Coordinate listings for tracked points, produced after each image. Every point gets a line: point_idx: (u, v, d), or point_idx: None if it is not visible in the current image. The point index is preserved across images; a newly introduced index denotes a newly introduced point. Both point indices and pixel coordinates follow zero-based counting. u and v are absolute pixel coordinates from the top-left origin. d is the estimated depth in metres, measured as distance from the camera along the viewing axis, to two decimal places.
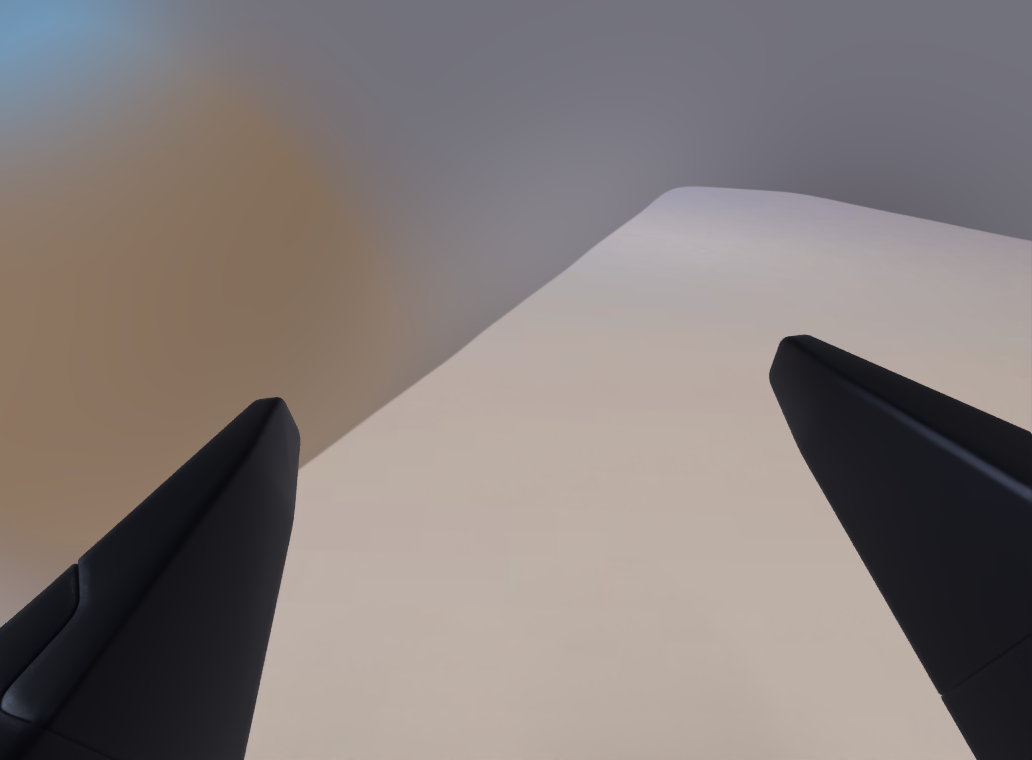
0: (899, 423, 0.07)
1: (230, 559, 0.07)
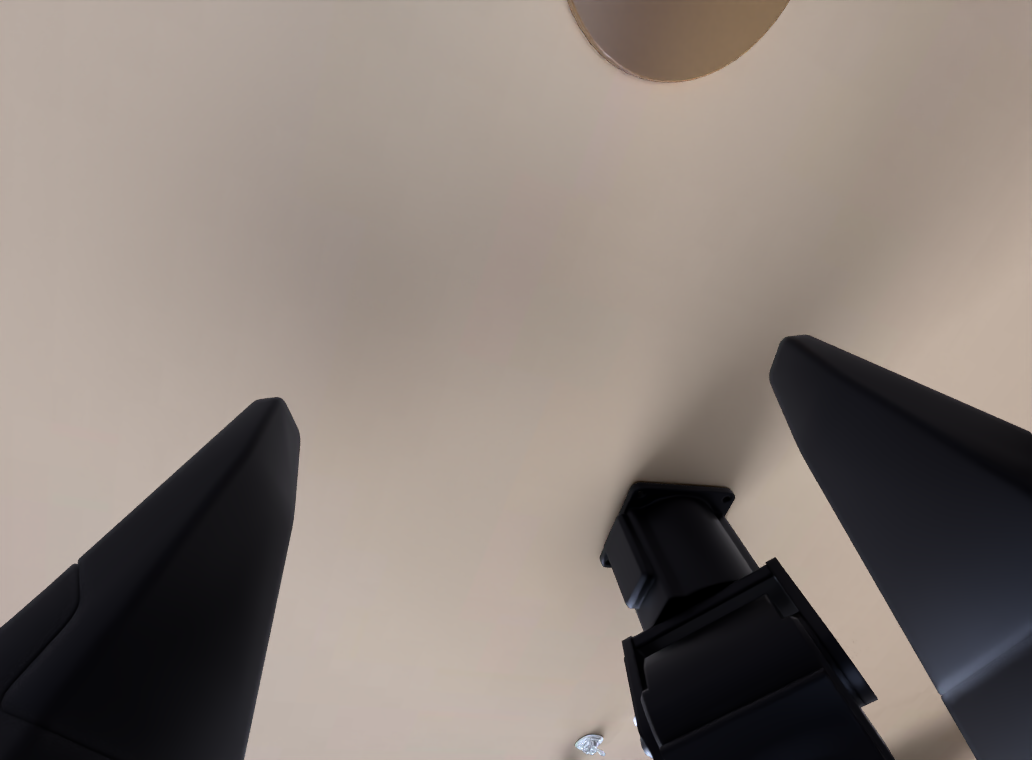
0: (899, 423, 0.07)
1: (230, 559, 0.07)
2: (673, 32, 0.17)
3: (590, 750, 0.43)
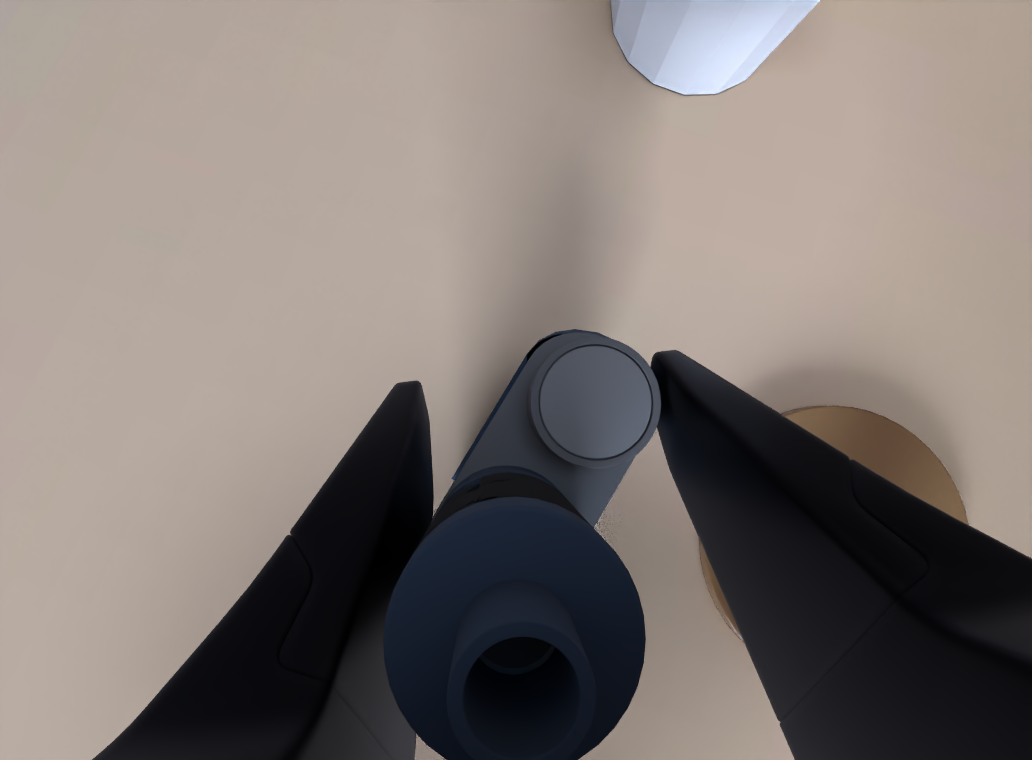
0: (731, 445, 0.07)
1: (407, 535, 0.07)
2: None
3: None
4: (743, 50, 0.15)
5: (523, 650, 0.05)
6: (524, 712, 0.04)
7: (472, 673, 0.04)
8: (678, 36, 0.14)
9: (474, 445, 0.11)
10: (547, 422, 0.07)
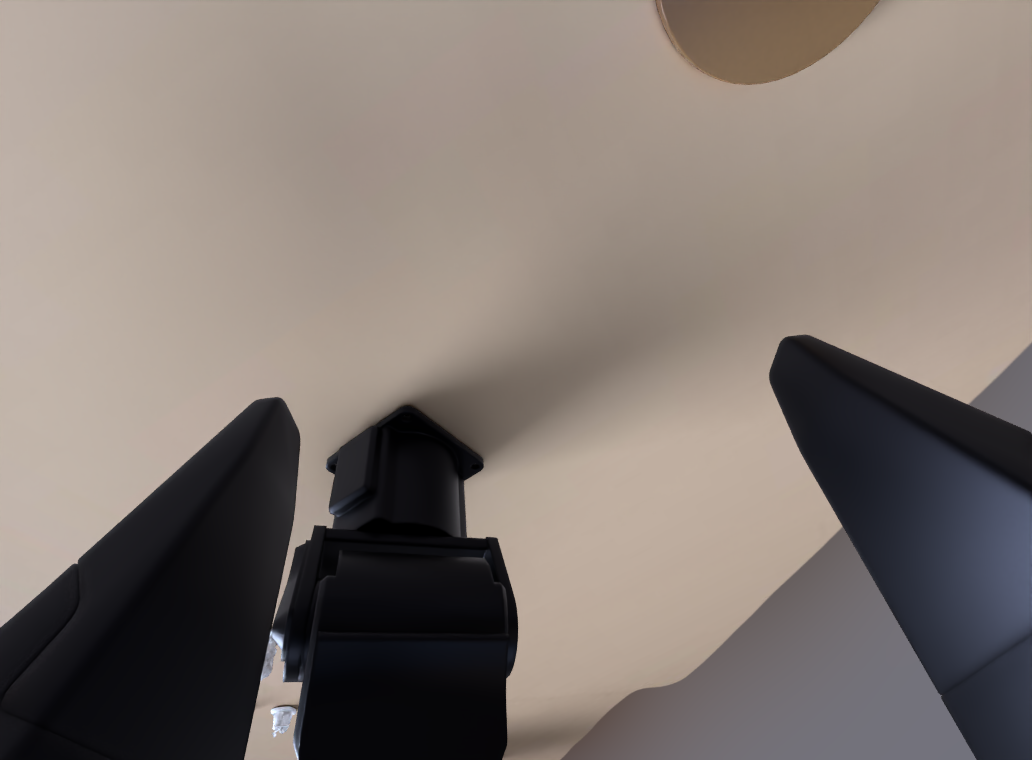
0: (899, 423, 0.07)
1: (230, 559, 0.07)
2: (714, 9, 0.16)
3: None
4: None
5: None
6: None
7: None
8: None
9: None
10: None
